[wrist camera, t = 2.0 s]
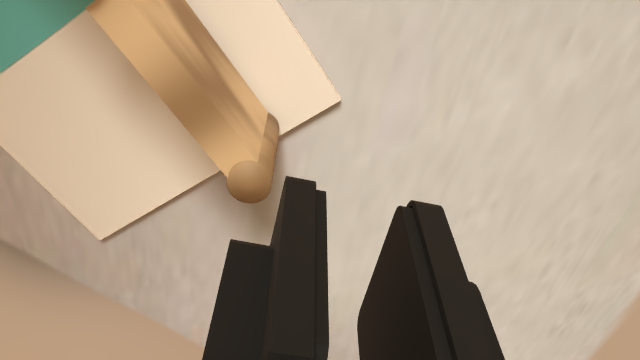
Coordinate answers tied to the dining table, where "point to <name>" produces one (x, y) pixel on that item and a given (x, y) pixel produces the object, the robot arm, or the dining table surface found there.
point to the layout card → (132, 103)
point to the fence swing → (197, 87)
